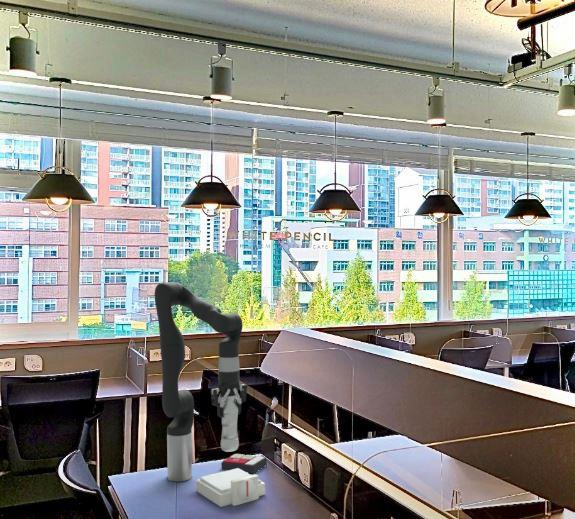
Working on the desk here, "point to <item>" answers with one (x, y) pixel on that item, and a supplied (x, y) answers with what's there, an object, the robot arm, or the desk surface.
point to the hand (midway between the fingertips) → (229, 415)
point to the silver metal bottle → (229, 425)
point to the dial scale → (230, 487)
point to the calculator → (244, 463)
